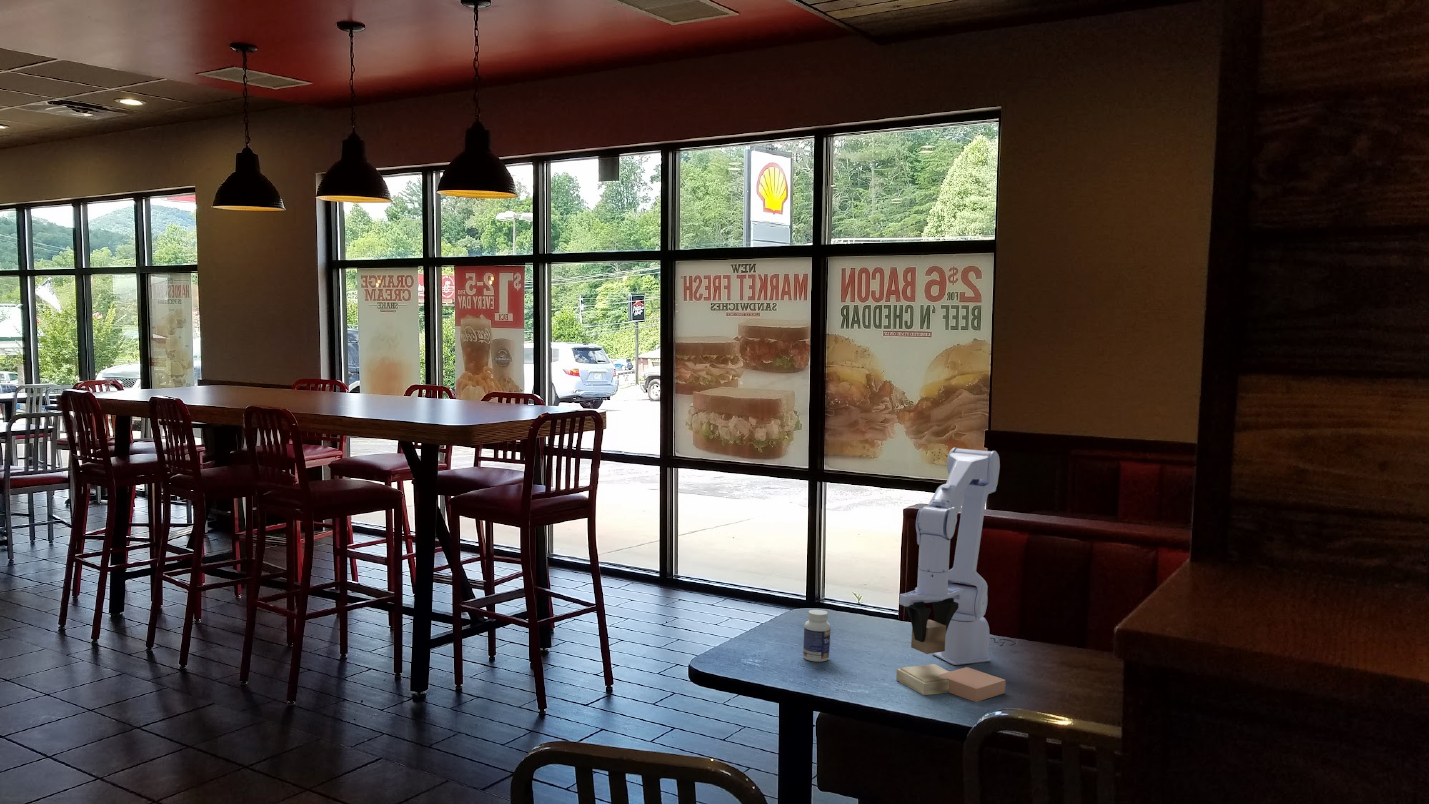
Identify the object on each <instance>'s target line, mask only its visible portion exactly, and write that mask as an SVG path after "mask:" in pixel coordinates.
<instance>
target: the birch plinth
mask: <svg viewBox="0 0 1429 804" xmlns="http://www.w3.org/2000/svg"><path fill="white" fill-rule="evenodd" d="M947 672H950V671H949V670H947V669H945V668H944V667H941V666H939V665H938V664H935V663H930V664H924V665H914V666H905V667H900V668H896V676H895V680H896V681H897V682H899V683H901V684H902V685H905V686H906V687H908V688H910V689H911V690H913V691H915V692H917V693H918V694H920V695H921V696H929V695H938V694H944V693H949V681H948V680H947V678H944V677H941V676H939V675H940V674H943V673H947ZM951 678H953V677H951Z"/></svg>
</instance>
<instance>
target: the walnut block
mask: <svg viewBox="0 0 1429 804" xmlns="http://www.w3.org/2000/svg"><path fill="white" fill-rule="evenodd" d="M945 637H946V625H943V624H940V623H938V622H935V621H934V619H933V620H932V619H928V621H927V627H926V636H925V641H924V642H920V641H917V640H915V638H914V632H913V627H912V626H911V640H910V642H911V643H910V644H911V645H910V648H912V649H914V650H916V651H919V652H922V653H923V654H924V655H925V654H926V655H930V654H931V655H932V653H937V652H943V651H945Z"/></svg>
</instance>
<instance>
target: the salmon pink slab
mask: <svg viewBox="0 0 1429 804" xmlns="http://www.w3.org/2000/svg"><path fill="white" fill-rule="evenodd" d="M939 676H941V677H944V678H947V680H948V681H949V692H948V693H950V694H953V695H955V696H958V697H960V698H964V699H966V700H969V701H972V702H975V703H977V702H981V701H984V700H988V699H990V698H994V697H996V696H999V695H1003V694H1005V693H1006V683H1007V682H1006V681H1007V680H1006V679H1005V678H1001V677H999V676H995V675H992V674H989V673H986V672H983V671H980V670H977V669H974V668H971V667H968V666H964V667H961V668H958V669H955V670H951V671H949V672H947V673H943V674H940V675H939ZM951 677H953V678H951Z"/></svg>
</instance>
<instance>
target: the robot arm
mask: <svg viewBox="0 0 1429 804" xmlns="http://www.w3.org/2000/svg"><path fill="white" fill-rule="evenodd" d="M1000 467H1001V464H1000V456H999V453H998V452H997V451H996V450H992V451H991V450H979V449H969V448H958V447H953V448H951V449H950V450H949V452H948V455H947V461H946V469H947V470H946V471H947V473H948V477H947V480H946V482H945V483H944V484H941V485H939V486H938V487H937V488H936V490H935V492H934V494H933V496H932V497H931V499H930V501H929V502H928V504H927V505H925V506H923V507H922V508H919V509H918V511H917V514H916V518H915V519H916V520H915V530H916V531H915V532H916V542H917V543H916V544H917V545H918V546H919V548H918V565H917V566H918V567H917V586H916V587H915V588H914V590H911V591H908V592H905V593H899V599H898V600H899V601H898V604H899V605H900V606H903V607H904V609H905V611H906V612H907V615H908V617H909V619H910V623H911V628H912V627H913V632H914V638H915V640H917V641H920V642H924V641H925V636H926V627H927V621H928V620H929V618H930V614H931V612H932V609H933V618H934V619H933V621H935V622H938V623H940V624H943V625H946V637H945V651H943V652H937V653H931V655H933V656H935V657H937V658H940V659H941V660H943V661H945V662H947V663H949V664H951V665H954V666H958V665H959V666H960V665H967V664H975V663H985V662H990V661H991V658H990V657H989V647H990V644H989V643H990V626H989V623H988V621H987V619H986V617H984V616H985V615H986V611H987V606H988V599H989V598H988V587H989V586H988V583H987V581H986V580H985V579H984V577H982V575H980V574H979V573H978V572H977V568H978V567H977V566H978V562H979V561H978V560H979V552H980V547H981V546H980V545H981V538H982V531H983V524H984V523H983V522H984V518H985V517H984V516H985V509H986V503H987V500H988V497H989V494H992V493H995V492H996V491H997V486H998V484H999V475H1000V469H1001V468H1000ZM960 510H961V512H960ZM959 512H960V518H959V523H958V524H959V525H958V531H957V537H956V539H957V540H956V546H955V552H954V553H955V554H954V560H953V565H952V568H950V567H949V566H950V552H951V551H950V550H951V539H952V538H953V537H954V534H955V530H956V525H957V522H958V514H959ZM930 603H931V604H932V608H929V607H926V606H927V605H926V604H930Z"/></svg>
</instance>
